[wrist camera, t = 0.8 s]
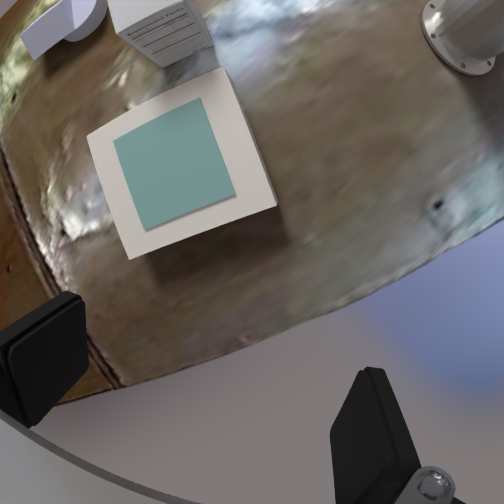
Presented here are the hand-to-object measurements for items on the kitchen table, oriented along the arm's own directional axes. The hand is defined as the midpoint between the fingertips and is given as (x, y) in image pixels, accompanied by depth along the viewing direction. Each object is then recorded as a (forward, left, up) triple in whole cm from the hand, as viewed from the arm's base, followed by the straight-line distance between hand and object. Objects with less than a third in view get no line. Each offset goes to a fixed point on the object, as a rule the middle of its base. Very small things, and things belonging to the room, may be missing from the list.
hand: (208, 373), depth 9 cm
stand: (+7, -10, -29) cm, 31 cm away
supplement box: (+2, -27, -29) cm, 40 cm away
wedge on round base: (+17, -41, -29) cm, 53 cm away
